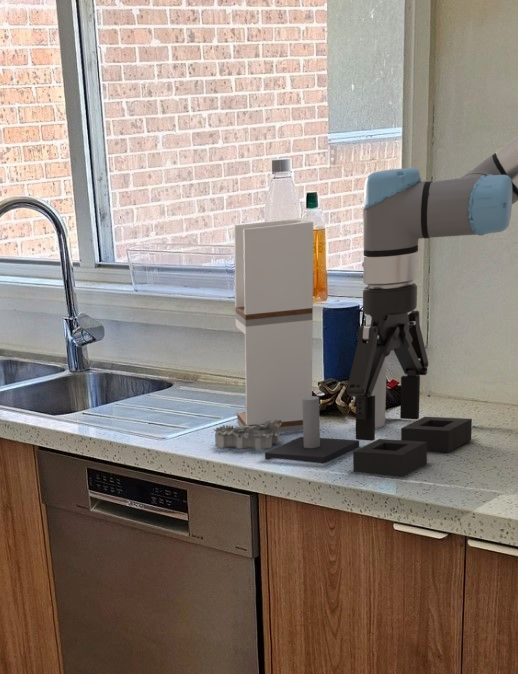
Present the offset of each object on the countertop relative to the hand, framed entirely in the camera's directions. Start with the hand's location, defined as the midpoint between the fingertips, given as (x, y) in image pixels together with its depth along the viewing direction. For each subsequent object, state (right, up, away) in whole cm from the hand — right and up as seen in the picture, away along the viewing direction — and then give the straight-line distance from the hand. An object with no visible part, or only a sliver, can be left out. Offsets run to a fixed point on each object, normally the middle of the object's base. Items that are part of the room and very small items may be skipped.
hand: (387, 429), depth 185 cm
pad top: (+12, 0, +11) cm, 16 cm away
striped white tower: (-9, +8, +37) cm, 38 cm away
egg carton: (-16, +2, +27) cm, 31 cm away
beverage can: (+6, +6, +27) cm, 29 cm away
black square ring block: (+1, -6, +2) cm, 6 cm away
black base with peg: (-7, -1, +16) cm, 17 cm away
